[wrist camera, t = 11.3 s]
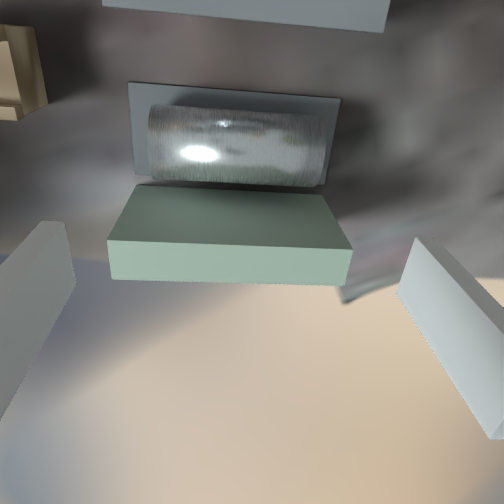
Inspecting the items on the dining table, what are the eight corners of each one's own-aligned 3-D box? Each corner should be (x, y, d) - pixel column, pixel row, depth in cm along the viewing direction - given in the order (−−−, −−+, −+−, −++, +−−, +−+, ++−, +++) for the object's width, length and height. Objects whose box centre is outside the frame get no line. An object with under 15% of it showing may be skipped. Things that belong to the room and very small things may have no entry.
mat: (128, 81, 28) (127, 82, 28) (339, 98, 29) (340, 99, 29) (135, 173, 31) (135, 174, 31) (323, 184, 33) (324, 184, 33)
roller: (157, 97, 28) (145, 112, 24) (314, 109, 29) (330, 125, 25) (160, 165, 31) (150, 189, 27) (304, 173, 32) (317, 198, 28)
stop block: (136, 185, 32) (106, 240, 24) (321, 194, 33) (353, 249, 25) (139, 217, 33) (112, 279, 25) (316, 224, 35) (344, 286, 27)
